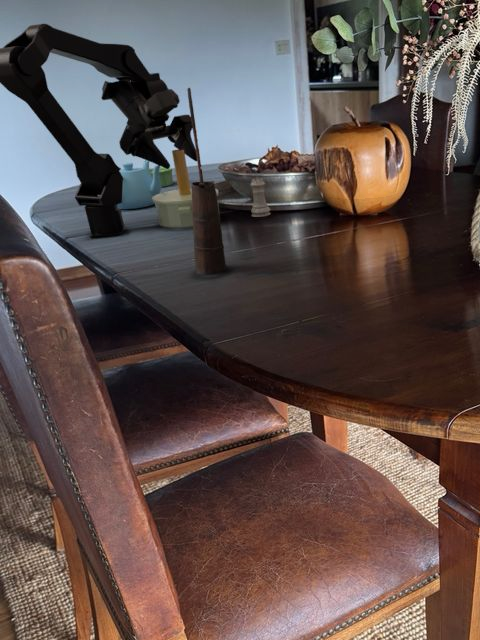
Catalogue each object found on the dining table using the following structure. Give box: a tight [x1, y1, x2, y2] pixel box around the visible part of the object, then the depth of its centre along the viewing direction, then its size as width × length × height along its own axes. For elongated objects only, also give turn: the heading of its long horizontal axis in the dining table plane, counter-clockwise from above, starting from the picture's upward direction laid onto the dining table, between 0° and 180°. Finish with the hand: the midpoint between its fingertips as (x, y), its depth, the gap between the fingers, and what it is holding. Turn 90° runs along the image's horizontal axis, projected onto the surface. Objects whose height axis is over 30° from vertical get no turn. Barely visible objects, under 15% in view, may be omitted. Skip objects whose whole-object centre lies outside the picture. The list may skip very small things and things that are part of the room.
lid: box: [152, 149, 220, 204], centre depth 140 cm, size 15×15×10 cm
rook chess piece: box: [249, 178, 272, 218], centre depth 143 cm, size 4×4×8 cm
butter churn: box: [186, 87, 227, 276], centre depth 102 cm, size 9×10×28 cm
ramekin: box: [149, 166, 174, 188], centre depth 191 cm, size 9×9×4 cm
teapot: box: [117, 159, 162, 210], centre depth 165 cm, size 15×15×10 cm
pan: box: [154, 196, 221, 228], centre depth 144 cm, size 14×19×6 cm
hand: (183, 163), depth 139 cm, fingers open, 9 cm apart
